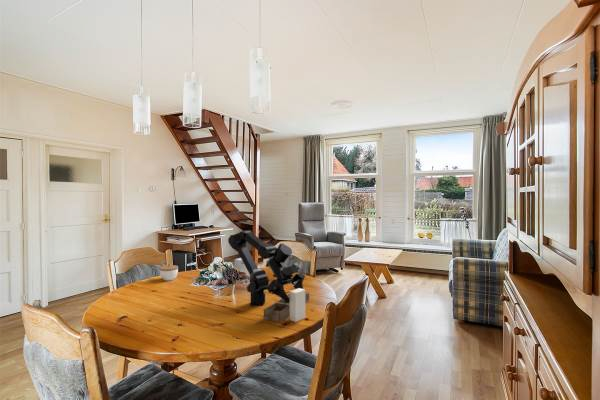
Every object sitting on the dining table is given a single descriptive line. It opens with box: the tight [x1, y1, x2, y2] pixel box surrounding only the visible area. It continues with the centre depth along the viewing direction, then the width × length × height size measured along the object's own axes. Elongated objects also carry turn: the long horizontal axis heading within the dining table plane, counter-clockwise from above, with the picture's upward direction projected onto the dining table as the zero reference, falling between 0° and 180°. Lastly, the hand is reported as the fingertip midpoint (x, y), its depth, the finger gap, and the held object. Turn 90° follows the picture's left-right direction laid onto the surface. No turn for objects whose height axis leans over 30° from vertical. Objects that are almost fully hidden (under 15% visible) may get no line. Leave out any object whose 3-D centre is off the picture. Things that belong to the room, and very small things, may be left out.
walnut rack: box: [263, 291, 310, 323], centre depth 139 cm, size 8×29×4 cm, turn 154°
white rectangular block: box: [289, 288, 306, 323], centre depth 128 cm, size 4×6×12 cm, turn 137°
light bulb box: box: [234, 257, 250, 275], centre depth 201 cm, size 11×7×11 cm, turn 141°
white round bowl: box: [159, 264, 179, 282], centre depth 189 cm, size 11×11×9 cm
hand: (296, 298), depth 128 cm, fingers open, 9 cm apart
